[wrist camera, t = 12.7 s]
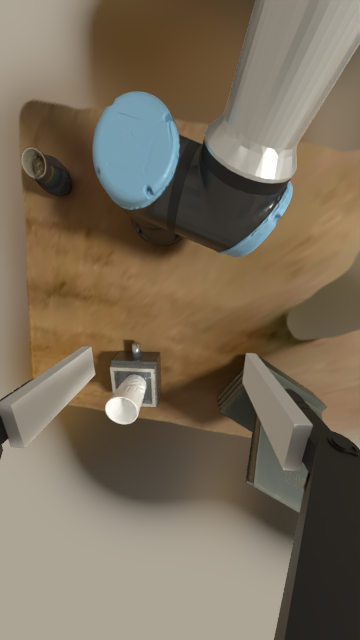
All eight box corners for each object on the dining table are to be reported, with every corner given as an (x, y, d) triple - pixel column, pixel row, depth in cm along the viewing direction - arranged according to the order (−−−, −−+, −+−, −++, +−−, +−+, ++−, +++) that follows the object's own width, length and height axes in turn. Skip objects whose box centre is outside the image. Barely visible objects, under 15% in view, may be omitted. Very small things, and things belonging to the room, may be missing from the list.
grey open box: (118, 339, 52) (106, 349, 45) (159, 340, 51) (154, 351, 44) (123, 391, 57) (113, 408, 50) (161, 393, 56) (156, 410, 49)
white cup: (127, 397, 50) (112, 426, 40) (118, 374, 48) (100, 399, 39) (151, 393, 49) (142, 421, 39) (144, 370, 47) (131, 394, 38)
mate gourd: (65, 159, 40) (26, 123, 31) (82, 192, 42) (50, 168, 32) (42, 174, 41) (-2, 144, 32) (59, 206, 43) (22, 187, 33)
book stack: (312, 392, 53) (414, 491, 28) (269, 430, 57) (325, 542, 33) (255, 353, 50) (313, 424, 26) (216, 396, 55) (234, 490, 31)
